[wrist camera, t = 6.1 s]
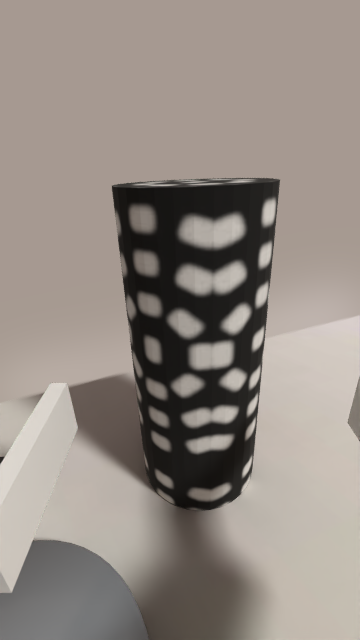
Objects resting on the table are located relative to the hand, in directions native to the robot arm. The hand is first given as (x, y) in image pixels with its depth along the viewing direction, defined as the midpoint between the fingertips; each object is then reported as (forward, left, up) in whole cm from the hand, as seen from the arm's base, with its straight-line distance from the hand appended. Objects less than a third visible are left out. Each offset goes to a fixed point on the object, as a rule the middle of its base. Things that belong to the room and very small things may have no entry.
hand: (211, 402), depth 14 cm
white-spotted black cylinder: (-2, +6, -11) cm, 13 cm away
